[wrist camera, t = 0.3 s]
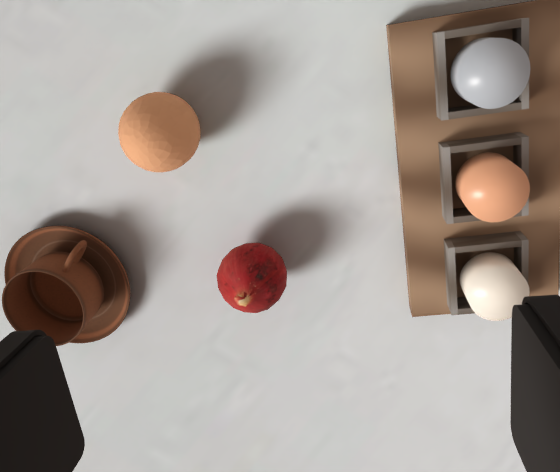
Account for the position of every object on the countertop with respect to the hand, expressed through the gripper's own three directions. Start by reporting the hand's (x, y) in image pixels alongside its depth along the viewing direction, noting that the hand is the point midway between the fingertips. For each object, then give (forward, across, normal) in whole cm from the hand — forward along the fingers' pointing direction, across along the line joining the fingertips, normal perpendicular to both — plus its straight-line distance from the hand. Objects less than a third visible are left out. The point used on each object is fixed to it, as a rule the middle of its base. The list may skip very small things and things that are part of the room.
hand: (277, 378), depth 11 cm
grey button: (+31, -11, -3) cm, 33 cm away
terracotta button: (+31, -12, +5) cm, 34 cm away
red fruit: (+36, +7, +11) cm, 38 cm away
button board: (+35, -12, +5) cm, 37 cm away
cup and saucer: (+36, +25, +12) cm, 45 cm away
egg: (+35, +12, -2) cm, 37 cm away
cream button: (+31, -12, +13) cm, 36 cm away
